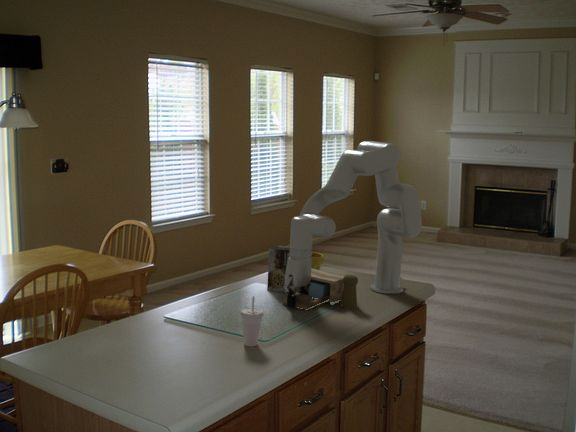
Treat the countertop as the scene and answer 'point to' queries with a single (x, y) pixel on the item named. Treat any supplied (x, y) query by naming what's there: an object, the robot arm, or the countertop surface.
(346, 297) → the cork
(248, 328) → the smoothie
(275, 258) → the coffee box
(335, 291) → the tan boxy piece
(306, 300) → the brown wooden frame
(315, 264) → the plant pot
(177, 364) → the countertop surface
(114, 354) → the countertop surface
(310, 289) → the blue block
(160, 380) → the countertop surface
